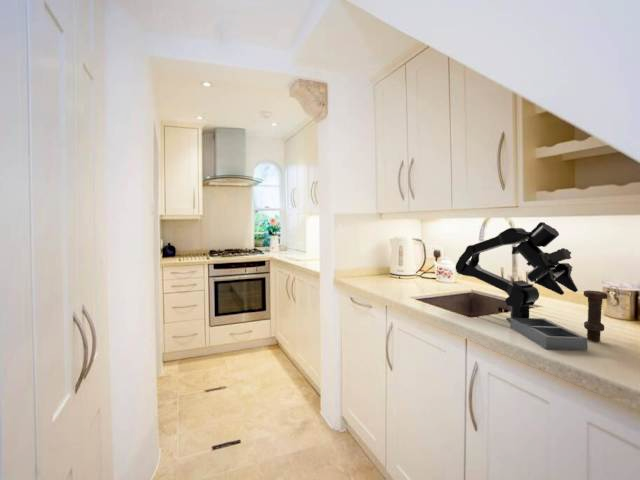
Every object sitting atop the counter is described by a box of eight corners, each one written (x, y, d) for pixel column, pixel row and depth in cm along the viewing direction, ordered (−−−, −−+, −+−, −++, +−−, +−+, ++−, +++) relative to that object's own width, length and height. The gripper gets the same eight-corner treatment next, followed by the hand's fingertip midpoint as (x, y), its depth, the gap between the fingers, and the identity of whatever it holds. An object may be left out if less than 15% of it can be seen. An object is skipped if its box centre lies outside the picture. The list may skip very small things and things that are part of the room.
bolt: (595, 337, 102) (597, 290, 101) (610, 343, 97) (612, 293, 96) (577, 337, 102) (579, 290, 101) (591, 343, 97) (593, 293, 96)
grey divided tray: (510, 327, 112) (510, 317, 112) (544, 328, 111) (544, 318, 111) (545, 349, 92) (546, 337, 92) (587, 350, 91) (587, 338, 91)
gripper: (538, 240, 104) (578, 280, 95) (566, 239, 113) (605, 275, 104) (512, 262, 111) (547, 301, 102) (541, 260, 120) (575, 295, 111)
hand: (569, 292), depth 104 cm, fingers open, 9 cm apart
